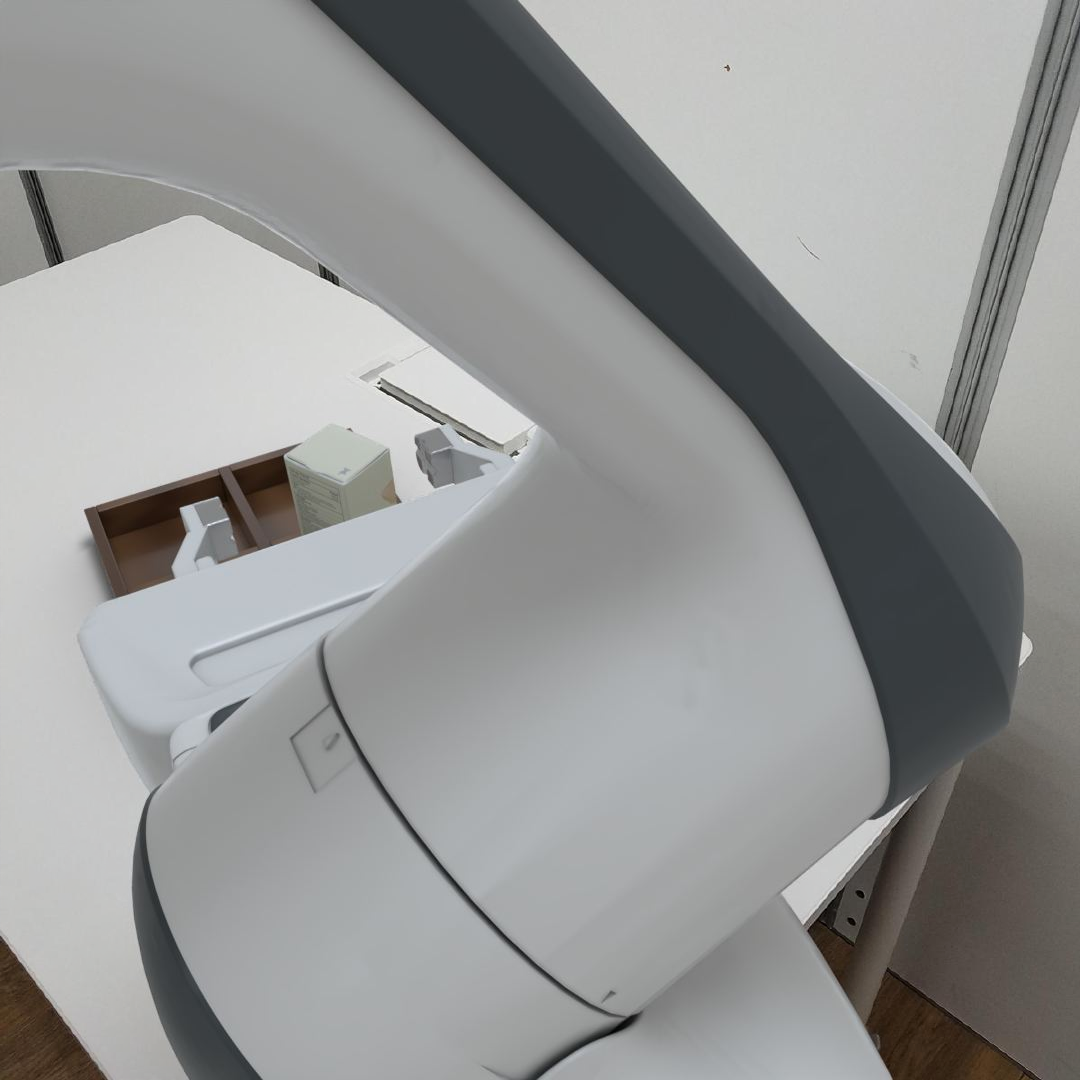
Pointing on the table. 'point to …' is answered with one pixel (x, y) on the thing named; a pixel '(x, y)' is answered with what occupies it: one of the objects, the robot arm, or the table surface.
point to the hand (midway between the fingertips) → (320, 477)
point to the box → (338, 478)
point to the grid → (158, 530)
